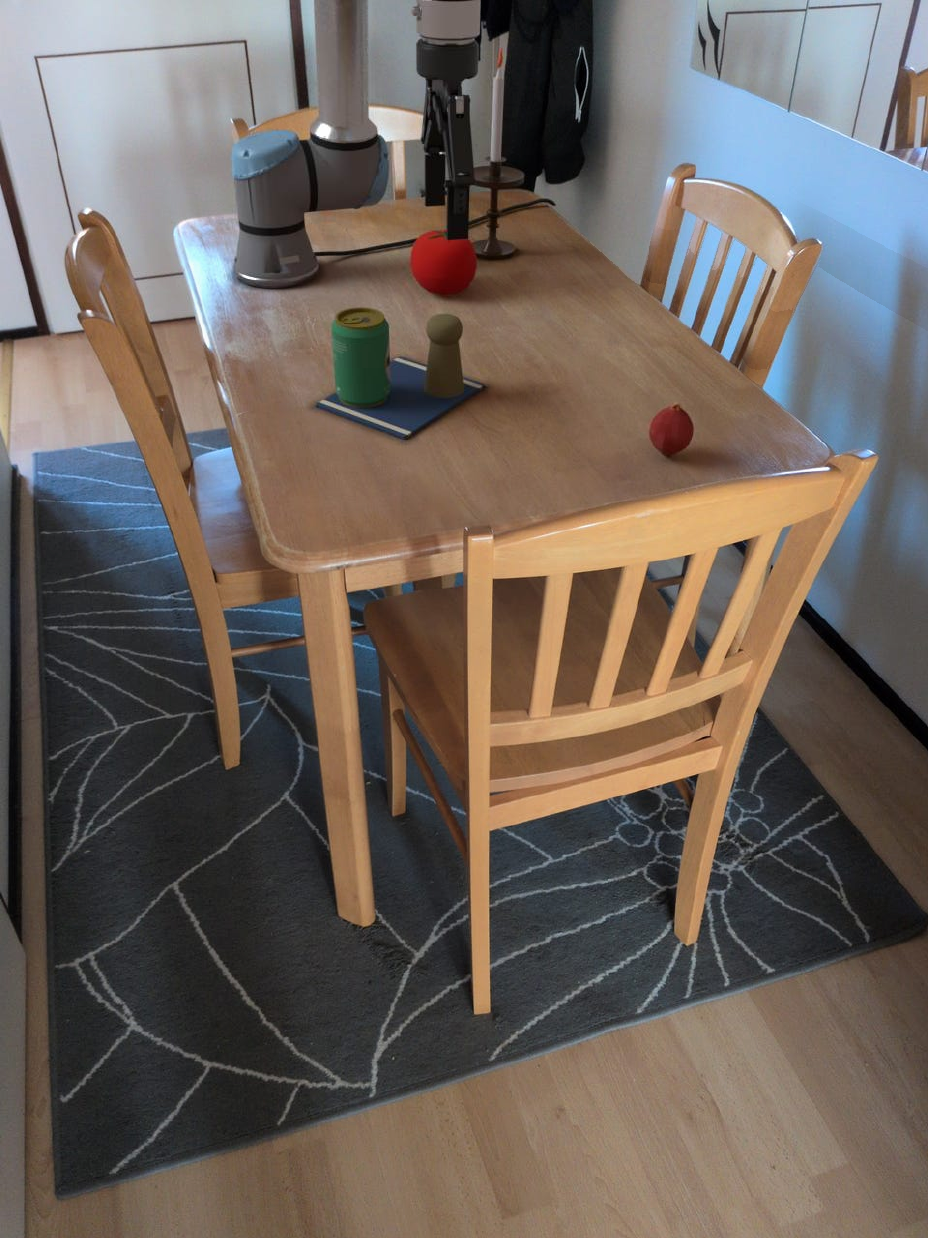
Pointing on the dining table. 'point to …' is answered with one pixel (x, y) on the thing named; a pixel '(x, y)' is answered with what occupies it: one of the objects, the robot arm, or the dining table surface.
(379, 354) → the beverage can
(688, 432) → the onion
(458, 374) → the olive game pawn
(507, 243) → the candlestick
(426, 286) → the tomato
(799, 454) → the dining table surface
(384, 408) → the towel
